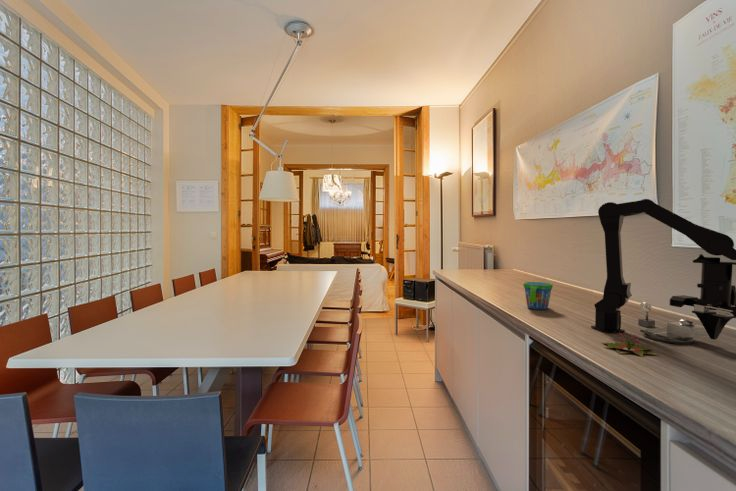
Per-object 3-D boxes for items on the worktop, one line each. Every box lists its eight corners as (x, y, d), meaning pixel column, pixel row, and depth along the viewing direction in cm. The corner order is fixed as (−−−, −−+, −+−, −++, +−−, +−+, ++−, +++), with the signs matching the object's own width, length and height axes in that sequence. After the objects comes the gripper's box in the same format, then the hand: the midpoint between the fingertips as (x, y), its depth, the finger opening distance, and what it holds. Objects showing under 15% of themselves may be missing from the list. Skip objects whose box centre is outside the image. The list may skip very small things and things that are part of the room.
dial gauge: (647, 327, 111) (648, 303, 111) (638, 324, 114) (638, 301, 114) (655, 326, 112) (655, 302, 112) (645, 324, 115) (645, 301, 115)
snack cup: (531, 303, 149) (531, 280, 148) (558, 307, 141) (558, 282, 141) (516, 309, 138) (516, 283, 138) (544, 313, 130) (544, 286, 130)
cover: (690, 337, 94) (691, 323, 94) (666, 331, 100) (667, 318, 100) (706, 336, 96) (707, 322, 96) (682, 330, 102) (682, 317, 102)
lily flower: (670, 361, 83) (671, 342, 83) (615, 357, 85) (616, 339, 85) (640, 345, 95) (640, 328, 95) (592, 342, 97) (593, 326, 97)
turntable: (673, 345, 93) (673, 339, 93) (633, 334, 104) (633, 328, 104) (703, 342, 96) (704, 336, 96) (661, 331, 106) (661, 325, 106)
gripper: (786, 285, 84) (783, 348, 85) (697, 275, 102) (695, 327, 103) (754, 286, 81) (751, 351, 82) (668, 276, 100) (666, 330, 100)
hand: (713, 339), depth 92 cm, fingers closed
